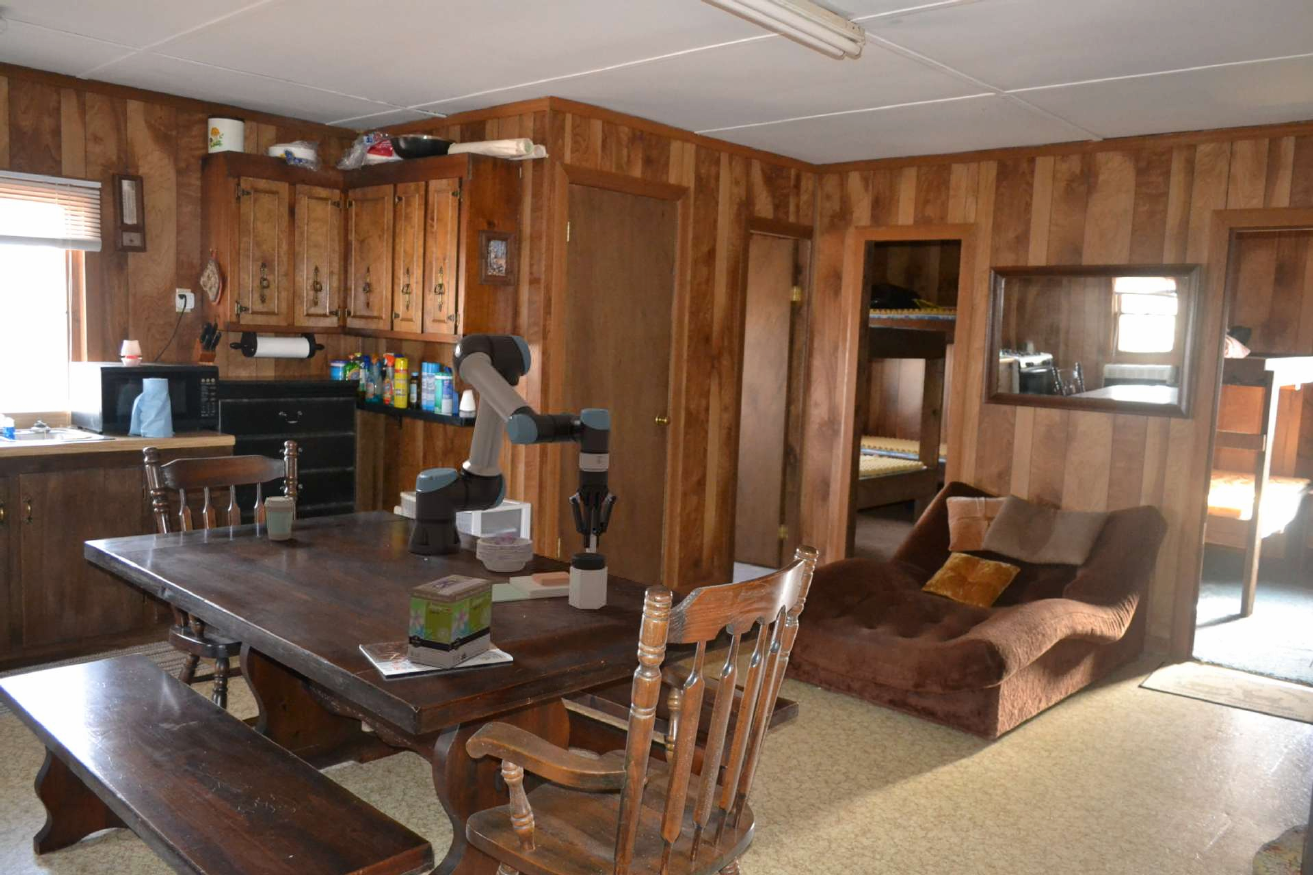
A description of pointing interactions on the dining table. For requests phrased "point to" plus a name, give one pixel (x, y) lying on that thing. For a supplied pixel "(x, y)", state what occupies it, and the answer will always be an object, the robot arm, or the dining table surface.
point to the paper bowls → (504, 553)
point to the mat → (506, 593)
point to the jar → (588, 581)
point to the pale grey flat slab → (538, 588)
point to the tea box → (449, 620)
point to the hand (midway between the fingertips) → (590, 560)
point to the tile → (551, 578)
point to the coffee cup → (279, 517)
